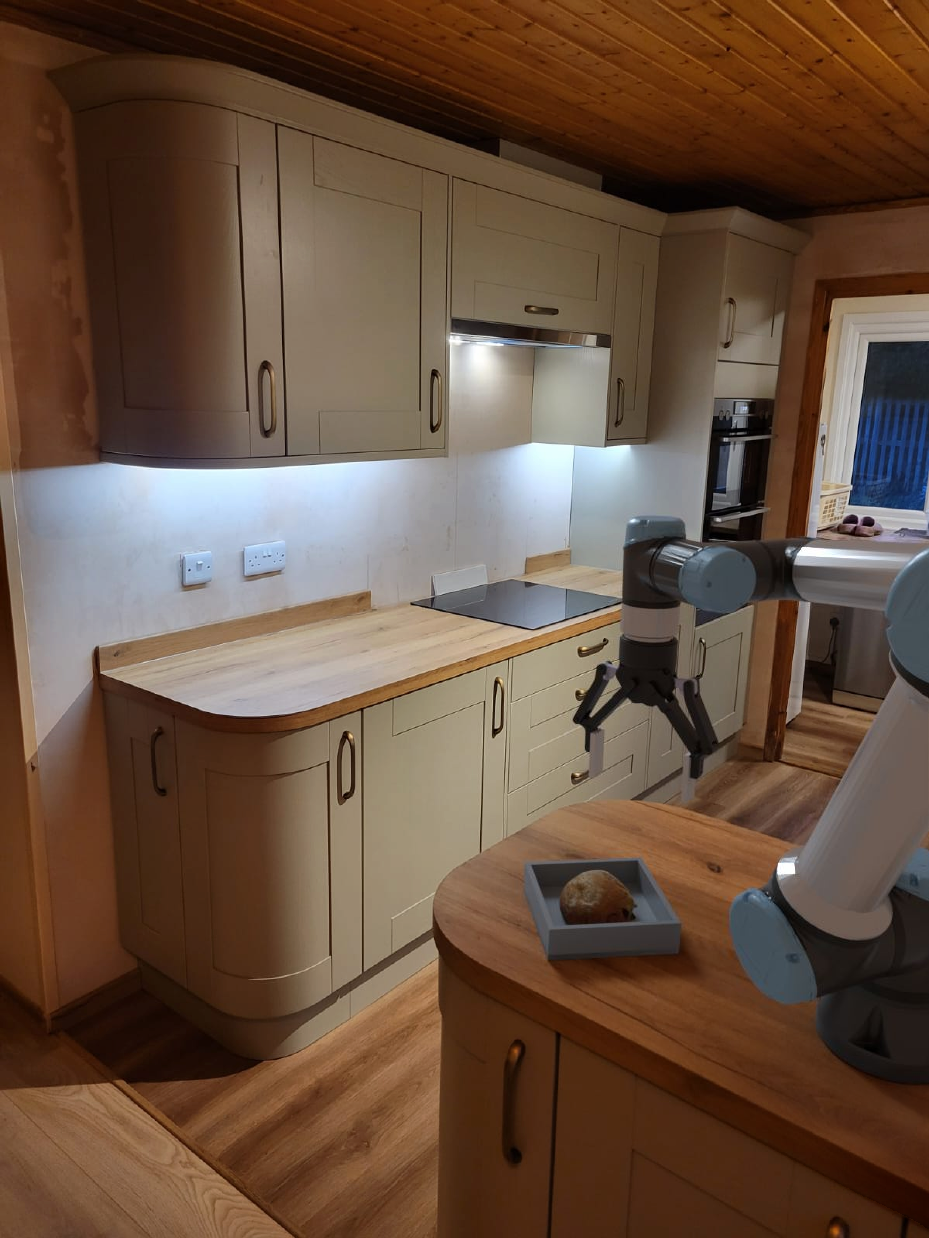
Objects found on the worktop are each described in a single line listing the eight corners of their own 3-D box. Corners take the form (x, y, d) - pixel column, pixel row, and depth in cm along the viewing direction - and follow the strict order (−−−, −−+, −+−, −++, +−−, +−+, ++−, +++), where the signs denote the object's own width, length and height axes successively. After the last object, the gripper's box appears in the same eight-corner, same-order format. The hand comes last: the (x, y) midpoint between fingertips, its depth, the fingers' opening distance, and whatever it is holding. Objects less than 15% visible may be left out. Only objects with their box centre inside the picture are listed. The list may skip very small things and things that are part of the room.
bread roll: (594, 914, 137) (576, 862, 137) (654, 910, 130) (635, 855, 131) (558, 945, 129) (539, 889, 130) (619, 941, 123) (599, 883, 123)
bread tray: (678, 953, 123) (681, 922, 122) (547, 960, 121) (549, 929, 120) (639, 884, 140) (641, 857, 139) (523, 889, 138) (524, 862, 137)
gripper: (753, 644, 118) (739, 800, 123) (579, 616, 132) (573, 757, 137) (731, 656, 112) (718, 820, 117) (551, 626, 126) (546, 773, 131)
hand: (640, 787), depth 127 cm, fingers open, 13 cm apart
